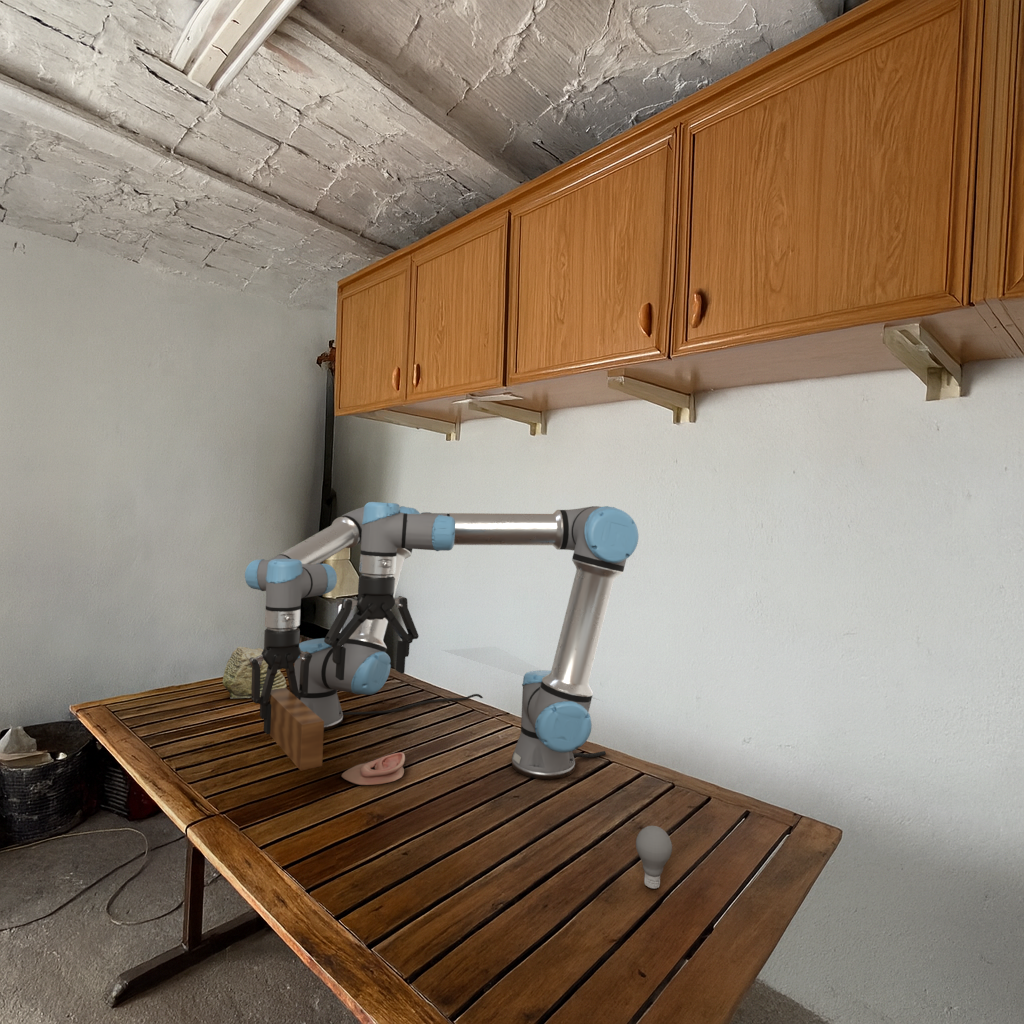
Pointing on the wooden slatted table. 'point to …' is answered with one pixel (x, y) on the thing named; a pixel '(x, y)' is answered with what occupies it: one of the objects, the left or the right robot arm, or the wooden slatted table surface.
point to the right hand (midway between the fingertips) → (370, 675)
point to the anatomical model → (377, 770)
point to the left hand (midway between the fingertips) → (278, 729)
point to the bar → (296, 729)
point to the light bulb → (653, 853)
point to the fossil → (246, 673)
